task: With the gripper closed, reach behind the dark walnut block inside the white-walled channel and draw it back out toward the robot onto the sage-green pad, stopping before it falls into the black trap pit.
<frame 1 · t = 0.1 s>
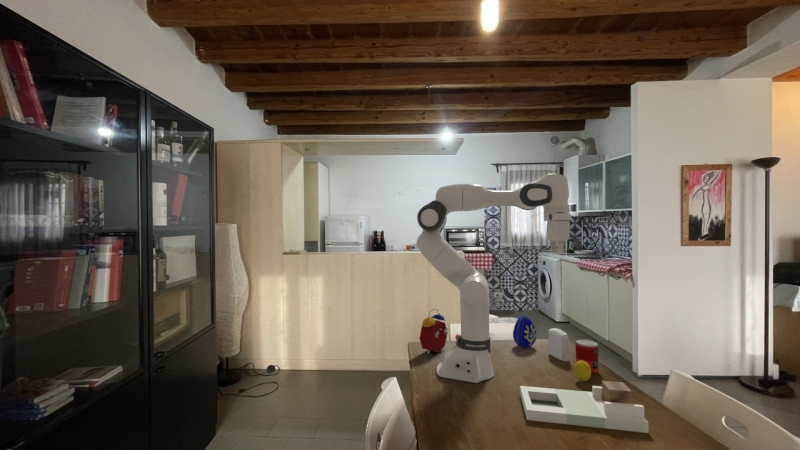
hand: (556, 252, 129), 48 cm above the table, fingers open, 8 cm apart
ornament: (524, 347, 164), on the table
alarm clock: (436, 352, 158), on the table
walnut block: (616, 405, 103), point 3 cm above the table, touching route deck
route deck: (577, 411, 105), on the table
white rounded block: (558, 357, 150), on the table
lemon: (582, 382, 126), on the table
canned food: (587, 370, 137), on the table
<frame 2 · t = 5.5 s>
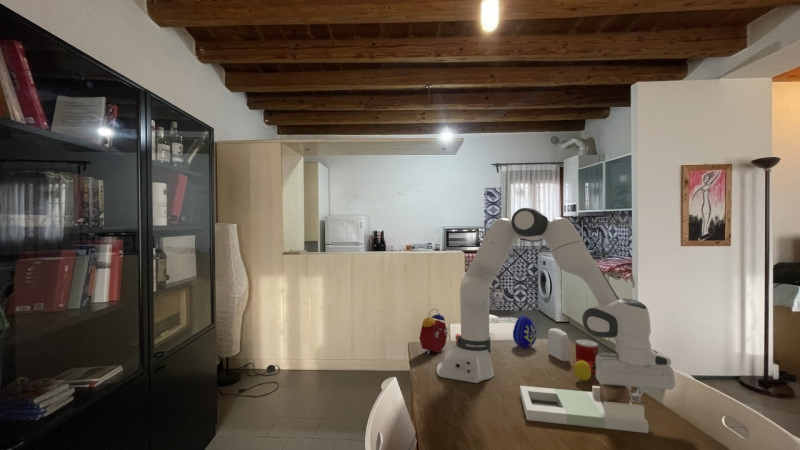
hand: (634, 400, 102), 5 cm above the table, fingers closed
walnut block: (614, 405, 103), point 3 cm above the table, touching gripper, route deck
everything else where it was.
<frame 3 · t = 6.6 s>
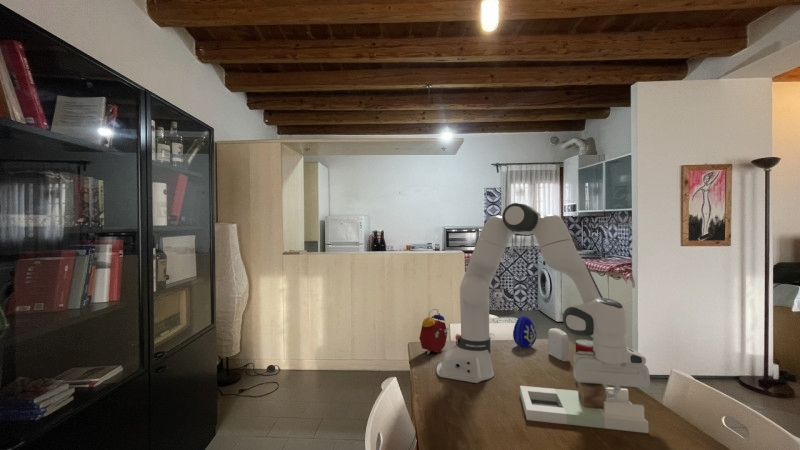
hand: (610, 398, 103), 5 cm above the table, fingers closed
walnut block: (592, 402, 105), point 3 cm above the table, touching gripper
everything else where it was.
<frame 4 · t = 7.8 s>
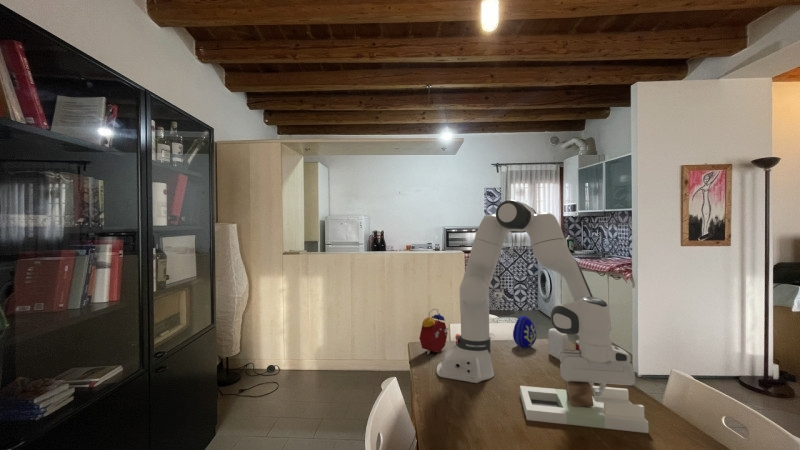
hand: (596, 396, 104), 5 cm above the table, fingers closed
walnut block: (579, 401, 105), point 3 cm above the table, tilted 6°, touching gripper, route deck
everything else where it was.
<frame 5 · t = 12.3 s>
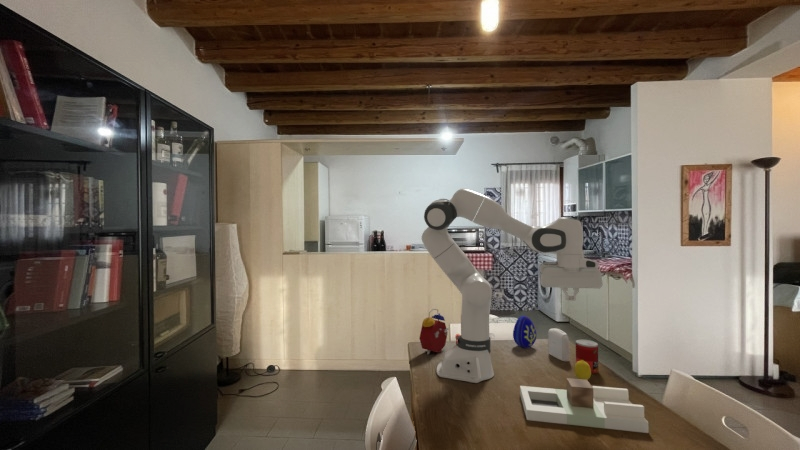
hand: (570, 300, 123), 31 cm above the table, fingers closed
walnut block: (579, 402, 105), point 3 cm above the table, touching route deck
everything else where it was.
at the end: walnut block inside the target area (0.2 cm from its centre), point 3.0 cm above the table; walnut block tilted 0°; walnut block moved 10.3 cm from its start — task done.
